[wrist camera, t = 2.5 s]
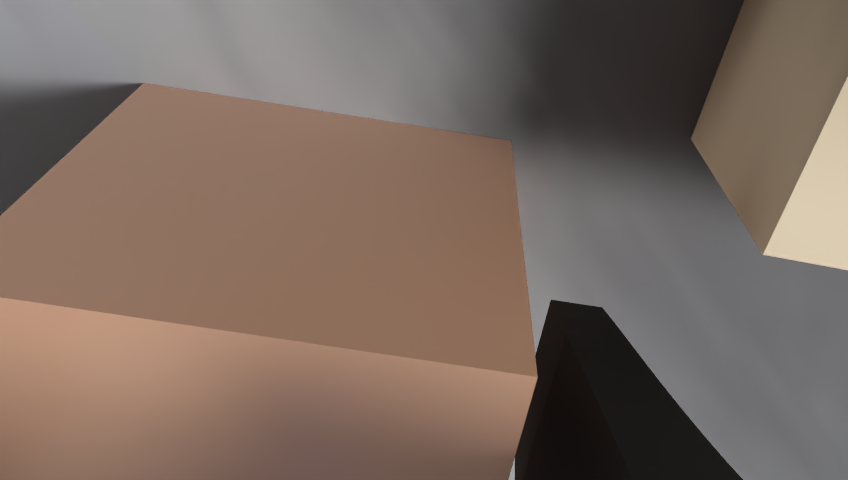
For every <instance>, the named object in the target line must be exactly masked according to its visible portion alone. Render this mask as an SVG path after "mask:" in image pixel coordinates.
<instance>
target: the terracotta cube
mask: <svg viewBox="0 0 848 480" xmlns="http://www.w3.org/2000/svg"><path fill="white" fill-rule="evenodd" d="M537 378H538V375H537V366H536V358H535V349H534V340H533V331H532V322H531V314H530V305H529V296H528V287H527V279H526V270H525V261H524V252H523V243H522V235H521V226H520V217H519V208H518V199H517V191H516V182H515V173H514V164H513V155H512V147H511V141H509V140H503V139H497V138H490V137H484V136H478V135H471V134H465V133H459V132H452V131H446V130H439V129H433V128H427V127H420V126H414V125H408V124H401V123H395V122H389V121H382V120H376V119H369V118H363V117H357V116H350V115H344V114H338V113H331V112H325V111H319V110H312V109H306V108H300V107H293V106H287V105H280V104H274V103H268V102H261V101H255V100H249V99H242V98H236V97H230V96H223V95H217V94H210V93H204V92H198V91H191V90H185V89H179V88H172V87H166V86H160V85H153V84H147V83H143V84H142V85H141V86H140V87H139V88H138V89H136V90H135V91H134V92H133V93H132V94H131V95H130V96H129V97H128V98H127V99H126V100H125V101H124V102H122V103H121V104H120V105H119V106H118V107H117V108H116V109H115V110H114V111H113V112H112V113H111V114H109V115H108V116H107V117H106V118H105V119H104V120H103V121H102V122H101V123H100V124H99V125H98V126H97V127H95V128H94V129H93V130H92V131H91V132H90V133H89V134H88V135H87V136H86V137H85V138H84V139H83V140H81V141H80V142H79V143H78V144H77V145H76V146H75V147H74V148H73V149H72V150H71V151H70V152H68V153H67V154H66V155H65V156H64V157H63V158H62V159H61V160H60V161H59V162H58V163H57V164H56V165H54V166H53V167H52V168H51V169H50V170H49V171H48V172H47V173H46V174H45V175H44V176H43V177H42V178H40V179H39V180H38V181H37V182H36V183H35V184H34V185H33V186H32V187H31V188H30V189H29V190H27V191H26V192H25V193H24V194H23V195H22V196H21V197H20V198H19V199H18V200H17V201H16V202H15V203H13V204H12V205H11V206H10V207H9V208H8V209H7V210H6V211H5V212H4V213H3V214H2V215H1V216H0V480H508V479H509V475H510V472H511V468H512V465H513V461H514V458H515V454H516V451H517V447H518V444H519V440H520V437H521V434H522V430H523V427H524V423H525V420H526V416H527V413H528V409H529V406H530V402H531V399H532V395H533V392H534V388H535V385H536V381H537Z"/></svg>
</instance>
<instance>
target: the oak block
mask: <svg viewBox="0 0 848 480" xmlns="http://www.w3.org/2000/svg"><path fill="white" fill-rule="evenodd" d="M691 140H692V142H693V143H694V145H695V147H696V148H697V150H698V151H699V153H700V155H701V156H702V158H703V159H704V161H705V163H706V164H707V166H708V167H709V169H710V171H711V172H712V174H713V175H714V177H715V179H716V180H717V182H718V183H719V185H720V187H721V188H722V190H723V191H724V193H725V195H726V196H727V198H728V199H729V201H730V203H731V204H732V206H733V207H734V209H735V211H736V212H737V214H738V215H739V217H740V219H741V220H742V222H743V223H744V225H745V227H746V228H747V230H748V231H749V233H750V235H751V236H752V238H753V239H754V241H755V243H756V244H757V246H758V248H759V249H760V251H761V252H762V254H763V255H768V256H773V257H779V258H784V259H790V260H795V261H801V262H806V263H811V264H817V265H822V266H828V267H833V268H839V269H844V270H848V0H744V2H743V5H742V7H741V10H740V12H739V15H738V18H737V20H736V23H735V25H734V28H733V31H732V33H731V36H730V38H729V41H728V44H727V46H726V49H725V51H724V54H723V57H722V59H721V62H720V64H719V67H718V70H717V72H716V75H715V77H714V80H713V83H712V85H711V88H710V90H709V93H708V96H707V98H706V101H705V103H704V106H703V109H702V111H701V114H700V116H699V119H698V122H697V124H696V127H695V129H694V132H693V135H692V137H691Z"/></svg>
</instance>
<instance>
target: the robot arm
mask: <svg viewBox="0 0 848 480" xmlns="http://www.w3.org/2000/svg"><path fill="white" fill-rule="evenodd" d="M535 358H536V366H537V375H538V378H537V381H536V385H535V388H534V392H533V395H532V399H531V402H530V406H529V409H528V413H527V416H526V420H525V423H524V427H523V430H522V434H521V437H520V440H519V444H518V447H517V451H516V454H515V480H743V479H742V478H741V477H740V476H739V475H738V474H737V473H736V472H735V470H734V469H733V468H732V467H731V466H730V465H729V464H728V463H727V462H726V461H725V459H724V458H723V457H722V456H721V455H720V454H719V453H718V451H717V450H716V449H715V448H714V447H713V446H712V445H711V443H710V442H709V441H708V440H707V439H706V438H705V436H704V435H703V434H702V433H701V432H700V430H699V429H698V428H697V427H696V426H695V425H694V423H693V422H692V421H691V420H690V419H689V417H688V416H687V415H686V414H685V412H684V411H683V410H682V409H681V408H680V406H679V405H678V404H677V403H676V401H675V400H674V399H673V398H672V396H671V395H670V394H669V393H668V391H667V390H666V389H665V388H664V386H663V385H662V384H661V383H660V381H659V380H658V379H657V377H656V376H655V375H654V374H653V372H652V371H651V370H650V368H649V367H648V366H647V365H646V363H645V362H644V361H643V359H642V358H641V357H640V356H639V354H638V353H637V352H636V350H635V349H634V348H633V346H632V345H631V344H630V343H629V341H628V340H627V339H626V337H625V336H624V335H623V333H622V332H621V331H620V329H619V328H618V327H617V326H616V324H615V323H614V322H613V320H612V319H611V318H610V317H609V315H608V314H607V313H606V312H605V311H604V309H603V308H602V307H595V306H589V305H582V304H575V303H569V302H562V301H555V300H551V302H550V305H549V309H548V313H547V316H546V320H545V323H544V327H543V330H542V334H541V338H540V341H539V345H538V348H537V352H536V356H535Z"/></svg>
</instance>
